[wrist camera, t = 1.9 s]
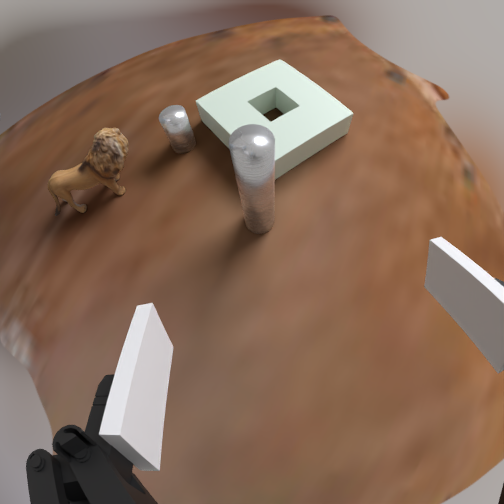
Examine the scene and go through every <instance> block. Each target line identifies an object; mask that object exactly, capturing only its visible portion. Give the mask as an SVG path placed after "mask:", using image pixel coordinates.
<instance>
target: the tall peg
mask: <svg viewBox="0 0 504 504" xmlns="http://www.w3.org/2000/svg"><path fill="white" fill-rule="evenodd" d="M229 148H230V153H231V157H232V162H233V167H234V171H235V176H236V181H237V186H238V190H239V195H240V200H241V204H242V209H243V214H244V218H245V223H246V226H247V228H248V229H249V230H250V231H251V232H253V233H256V234H263V233H266V232H268V231H269V230H270V229H271V228H272V227H273V225H274V209H275V138H274V135H273V133H272V132H271V131H270V130H269V129H268V128H266V127H264V126H262V125H257V124H248V125H244V126H241V127H239V128H238V129H236V130H235V131H234V132H233V133H232V134H231V136H230V138H229Z"/></svg>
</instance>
